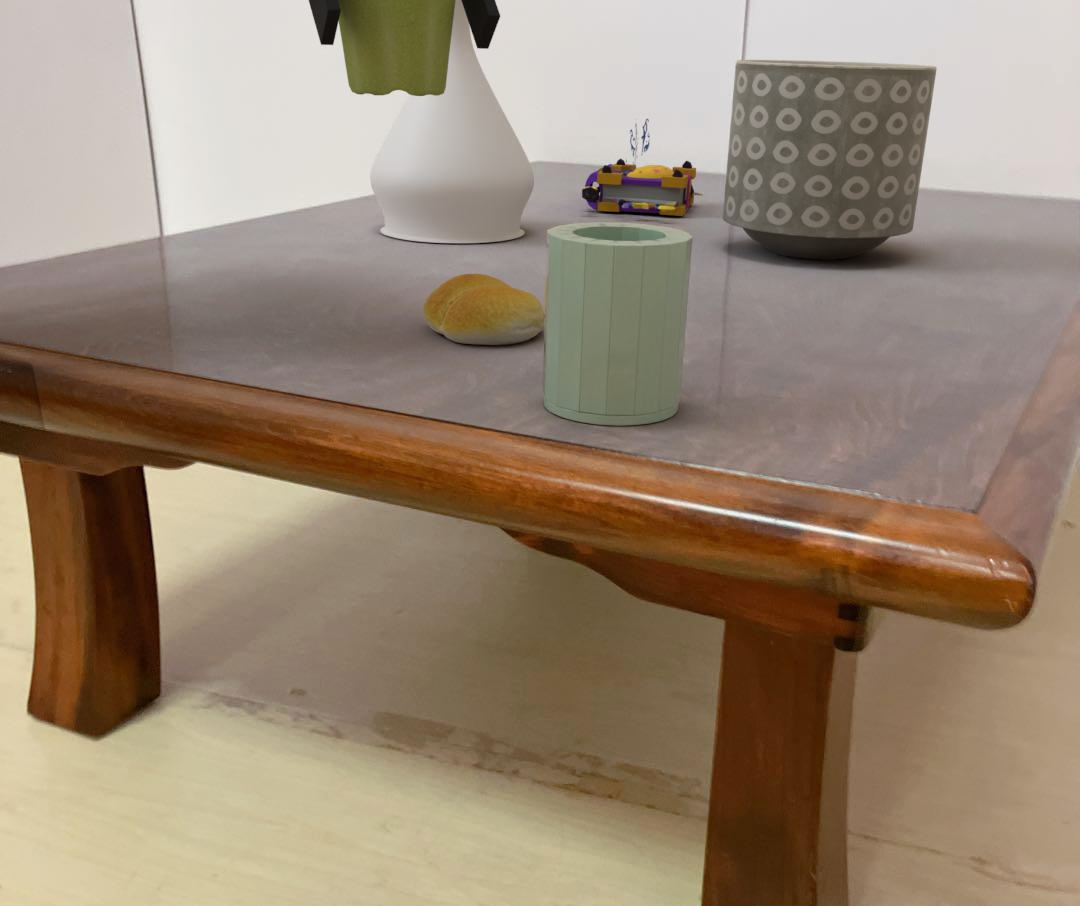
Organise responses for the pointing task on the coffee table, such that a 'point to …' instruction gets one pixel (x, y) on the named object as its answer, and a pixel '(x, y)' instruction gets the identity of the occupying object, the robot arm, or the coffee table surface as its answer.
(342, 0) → the plant pot
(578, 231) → the cup
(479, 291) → the bread roll
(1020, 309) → the coffee table surface
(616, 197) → the multicoloured boxy piece
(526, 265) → the coffee table surface
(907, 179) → the planter
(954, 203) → the coffee table surface
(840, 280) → the coffee table surface
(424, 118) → the vase
